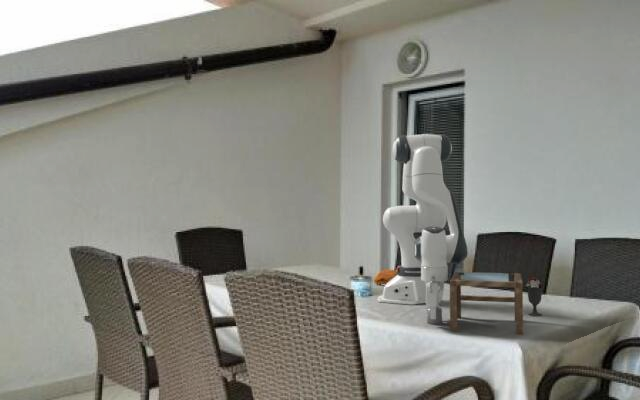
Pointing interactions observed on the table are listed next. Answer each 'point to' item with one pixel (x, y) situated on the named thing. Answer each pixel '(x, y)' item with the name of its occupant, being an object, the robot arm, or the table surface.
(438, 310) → the gray cylinder
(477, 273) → the trapdoor
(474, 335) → the table surface
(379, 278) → the croissant
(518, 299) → the stand
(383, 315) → the table surface
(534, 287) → the sundae
